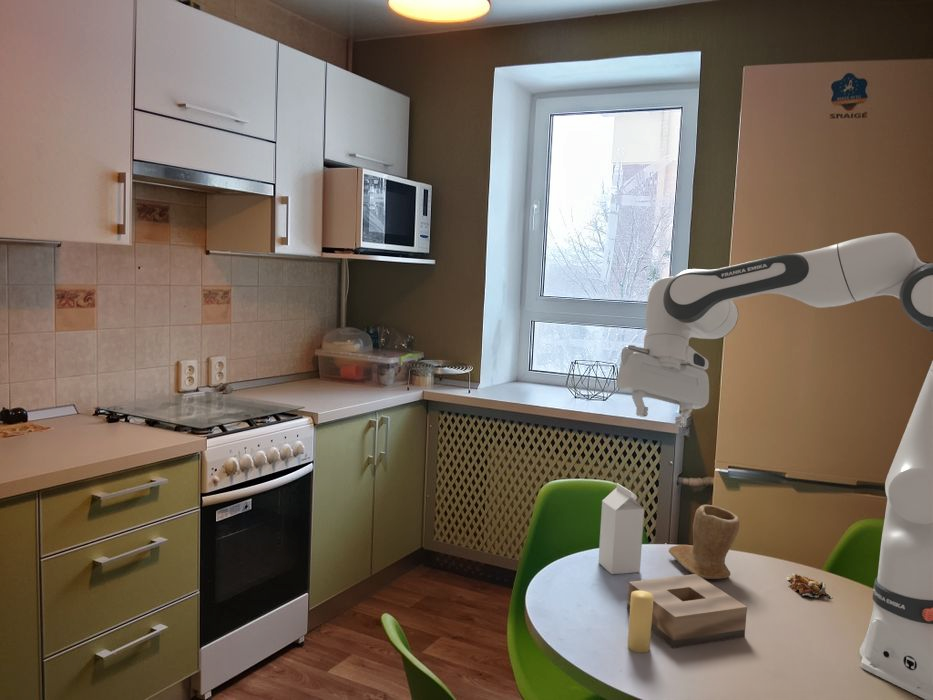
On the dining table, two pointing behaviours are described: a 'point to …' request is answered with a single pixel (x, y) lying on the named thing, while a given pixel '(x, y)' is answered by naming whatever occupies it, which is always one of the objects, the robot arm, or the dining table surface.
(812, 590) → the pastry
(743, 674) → the dining table surface
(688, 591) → the bore block
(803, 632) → the dining table surface
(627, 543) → the milk carton
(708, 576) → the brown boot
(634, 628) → the pin
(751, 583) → the dining table surface
